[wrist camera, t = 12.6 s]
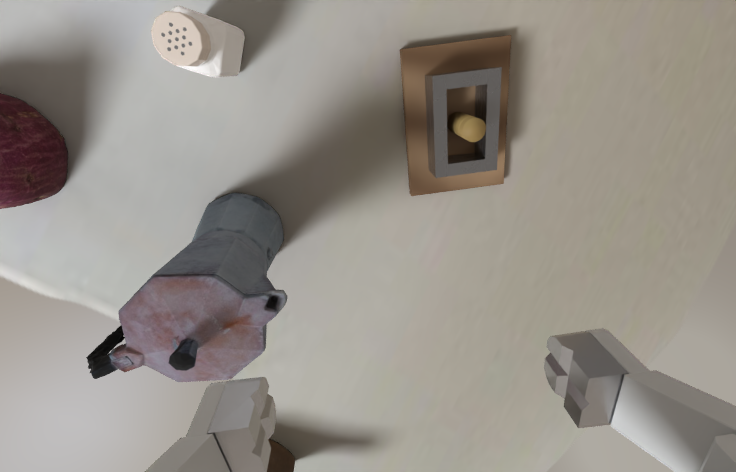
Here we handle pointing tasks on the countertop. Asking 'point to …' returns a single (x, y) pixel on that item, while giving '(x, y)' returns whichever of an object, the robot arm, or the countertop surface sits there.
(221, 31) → the pepper shaker
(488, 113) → the link
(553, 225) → the countertop surface
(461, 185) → the keeper
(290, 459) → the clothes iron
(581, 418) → the robot arm
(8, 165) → the vegetable
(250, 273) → the moka pot
